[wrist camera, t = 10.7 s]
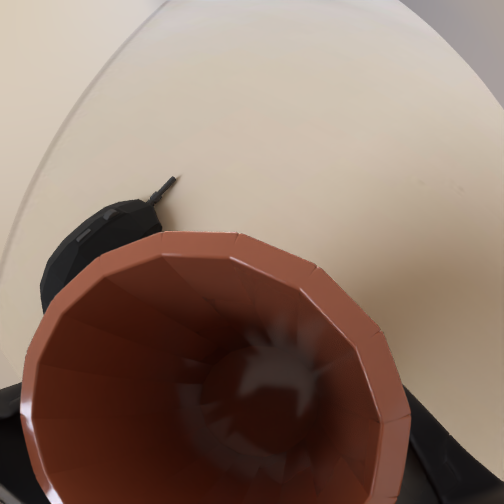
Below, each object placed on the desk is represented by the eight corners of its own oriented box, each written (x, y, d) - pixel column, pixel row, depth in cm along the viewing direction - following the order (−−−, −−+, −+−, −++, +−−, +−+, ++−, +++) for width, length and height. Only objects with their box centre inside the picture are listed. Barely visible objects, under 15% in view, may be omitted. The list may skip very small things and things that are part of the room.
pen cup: (286, 481, 12) (260, 634, 1) (175, 420, 14) (-7, 441, 4) (348, 371, 14) (472, 331, 4) (234, 317, 17) (125, 184, 6)
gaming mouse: (207, 192, 20) (190, 154, 17) (87, 372, 16) (46, 364, 12) (147, 168, 23) (127, 135, 19) (42, 320, 18) (5, 304, 15)
